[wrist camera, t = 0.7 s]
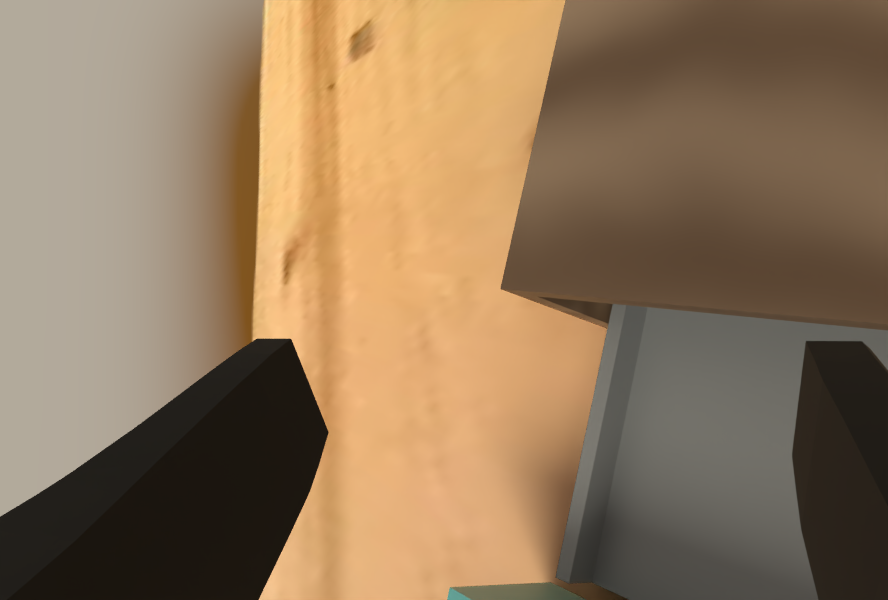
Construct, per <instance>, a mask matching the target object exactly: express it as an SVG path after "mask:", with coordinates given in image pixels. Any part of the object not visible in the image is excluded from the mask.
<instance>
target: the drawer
mask: <svg viewBox="0 0 888 600" xmlns="http://www.w3.org/2000/svg"><path fill="white" fill-rule="evenodd" d="M806 341H862V342H863V343H864V344H866V345H867V346H868V347H869V348H870V349H871V350H872V351H873V353H874V354H875V355H876V356H877V358H878V359H879V360H880V361H881V362H882V364H883V365H884V366H885V367H886V368H887V370H888V331H887V330H877V329H867V328H856V327H846V326H836V325H826V324H815V323H805V322H795V321H784V320H774V319H764V318H753V317H743V316H733V315H722V314H712V313H702V312H692V311H681V310H671V309H661V308H650V307H640V306H630V305H619V304H613V305H612V310H611V314H610V319H609V324H608V329H607V334H606V338H605V343H604V348H603V353H602V358H601V362H600V367H599V372H598V377H597V382H596V386H595V391H594V396H593V401H592V405H591V410H590V415H589V420H588V425H587V429H586V434H585V439H584V444H583V449H582V453H581V458H580V463H579V468H578V473H577V477H576V482H575V487H574V492H573V497H572V501H571V506H570V511H569V516H568V520H567V525H566V530H565V535H564V540H563V544H562V549H561V554H560V559H559V564H558V568H557V573H556V578H558V579H560V580H562V581H564V582H566V583H569V584H571V583H591V582H592V583H594V584H596V585H598V586H600V587H603V588H605V589H607V590H609V591H611V592H613V593H616V594H618V595H620V596H622V597H624V598H626V599H629V600H818V596H817V592H816V588H815V584H814V580H813V576H812V572H811V568H810V564H809V560H808V556H807V552H806V548H805V543H804V539H803V535H802V531H801V525H800V517H799V510H798V502H797V494H796V486H795V477H794V469H793V461H792V450H793V441H794V433H795V425H796V417H797V409H798V400H799V392H800V384H801V376H802V367H803V359H804V351H805V343H806ZM447 600H586V599H584V598H582V597H580V596H578V595H576V594H574V593H572V592H570V591H568V590H566V589H564V588H561V587H559V586H557V585H555V584H553V583H551V582H550V583H529V584H509V585H488V586H467V587H450V589H449V594H448V598H447Z"/></svg>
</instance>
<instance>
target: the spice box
mask: <svg viewBox="0 0 888 600" xmlns="http://www.w3.org/2000/svg"><path fill="white" fill-rule="evenodd" d="M501 289H502V290H505V291H508V292H510V293H513V294H516V295H518V296H521V297H524V298H526V299H529V300H532V301H534V302H537V303H540V304H543V305H545V306H548V307H551V308H553V309H556V310H559V311H561V312H564V313H567V314H570V315H572V316H575V317H578V318H580V319H583V320H586V321H588V322H591V323H594V324H596V325H599V326H602V327H605V328H607V329H608V324H609V319H610V314H611V310H612V305H613V304H619V305H630V306H640V307H650V308H661V309H671V310H681V311H692V312H702V313H712V314H722V315H733V316H743V317H753V318H764V319H774V320H784V321H795V322H805V323H815V324H826V325H836V326H846V327H856V328H867V329H877V330H887V331H888V0H566V1H565V5H564V10H563V14H562V19H561V23H560V27H559V32H558V36H557V41H556V45H555V50H554V54H553V58H552V63H551V67H550V72H549V76H548V81H547V85H546V90H545V94H544V98H543V103H542V107H541V112H540V116H539V121H538V125H537V129H536V134H535V138H534V143H533V147H532V152H531V156H530V160H529V165H528V169H527V174H526V178H525V183H524V187H523V191H522V196H521V200H520V205H519V209H518V214H517V218H516V222H515V227H514V231H513V236H512V240H511V245H510V249H509V253H508V258H507V262H506V267H505V271H504V276H503V280H502V284H501Z"/></svg>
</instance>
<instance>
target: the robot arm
mask: <svg viewBox="0 0 888 600" xmlns="http://www.w3.org/2000/svg"><path fill="white" fill-rule="evenodd" d="M327 436H328V430H327V427H326V425H325V422H324V420H323V417H322V415H321V412H320V410H319V407H318V405H317V402H316V400H315V397H314V395H313V392H312V390H311V387H310V385H309V382H308V380H307V377H306V375H305V372H304V370H303V367H302V365H301V362H300V360H299V357H298V355H297V352H296V350H295V347H294V345H293V342H292V340H291V339H256V340H254V341H253V342H251V343H250V344H248V345H247V346H245V347H244V348H242V349H241V350H239V351H238V352H236V353H235V354H234V355H232V356H231V357H229V358H228V359H226V360H225V361H224V362H223V363H221V364H220V365H218V366H217V367H216V368H214V369H213V370H212V371H210V372H209V373H207V374H206V375H205V376H204V377H202V378H201V379H199V380H198V381H197V382H196V383H194V384H193V385H192V386H190V387H189V388H188V389H186V390H185V391H184V392H182V393H181V394H180V395H178V396H177V397H176V398H174V399H173V400H172V401H170V402H169V403H168V404H166V405H165V406H164V407H162V408H161V409H160V410H158V411H157V412H156V413H154V414H153V415H152V416H150V417H149V418H148V419H146V420H145V421H144V422H142V423H141V424H140V425H138V426H137V427H135V428H134V429H133V430H132V431H130V432H128V433H127V434H125V435H124V436H123V437H121V438H120V439H118V440H117V441H115V442H114V443H113V444H111V445H110V446H108V447H107V448H105V449H104V450H103V451H101V452H100V453H98V454H97V455H95V456H94V457H93V458H91V459H90V460H88V461H87V462H86V463H84V464H83V465H81V466H80V467H78V468H77V469H76V470H74V471H73V472H71V473H70V474H68V475H67V476H65V477H64V478H62V479H61V480H59V481H57V482H56V483H54V484H53V485H51V486H50V487H48V488H47V489H45V490H43V491H42V492H40V493H39V494H37V495H36V496H34V497H32V498H31V499H29V500H27V501H26V502H24V503H22V504H21V505H19V506H17V507H16V508H14V509H12V510H11V511H9V512H7V513H6V514H4V515H3V516H1V517H0V600H259V598H260V595H261V593H262V591H263V589H264V587H265V585H266V583H267V581H268V579H269V577H270V575H271V573H272V570H273V568H274V566H275V564H276V562H277V560H278V558H279V556H280V554H281V552H282V550H283V548H284V546H285V543H286V541H287V539H288V537H289V535H290V533H291V531H292V529H293V527H294V524H295V522H296V520H297V518H298V516H299V514H300V512H301V510H302V507H303V505H304V503H305V501H306V499H307V496H308V494H309V492H310V489H311V486H312V483H313V480H314V478H315V475H316V472H317V469H318V466H319V463H320V459H321V456H322V452H323V449H324V446H325V442H326V439H327ZM792 461H793V469H794V477H795V486H796V494H797V502H798V510H799V517H800V525H801V531H802V535H803V539H804V543H805V548H806V552H807V556H808V560H809V564H810V568H811V572H812V576H813V580H814V584H815V588H816V592H817V596H818V600H888V370H887V368H886V367H885V366H884V365H883V364H882V362H881V361H880V360H879V359H878V358H877V356H876V355H875V354H874V353H873V351H872V350H871V349H870V348H869V347H868V346H867V345H866V344H864V343H863V342H862V341H806V343H805V351H804V359H803V367H802V376H801V384H800V392H799V400H798V409H797V417H796V425H795V433H794V441H793V450H792Z"/></svg>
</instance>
